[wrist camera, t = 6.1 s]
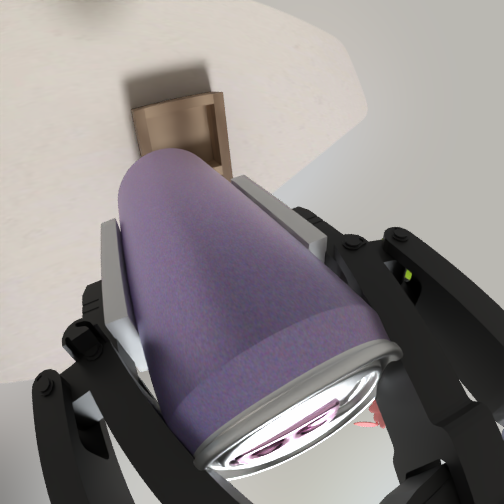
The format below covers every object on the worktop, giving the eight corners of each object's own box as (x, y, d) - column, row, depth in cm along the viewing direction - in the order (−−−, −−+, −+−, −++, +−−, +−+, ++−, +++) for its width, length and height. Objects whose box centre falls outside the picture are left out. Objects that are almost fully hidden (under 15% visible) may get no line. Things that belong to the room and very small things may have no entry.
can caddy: (178, 286, 45) (185, 304, 42) (131, 109, 28) (133, 111, 25) (235, 265, 48) (247, 281, 45) (212, 91, 31) (224, 92, 28)
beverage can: (103, 168, 14) (130, 466, 3) (199, 132, 15) (442, 290, 4) (138, 250, 18) (226, 489, 7) (219, 216, 19) (379, 403, 8)
